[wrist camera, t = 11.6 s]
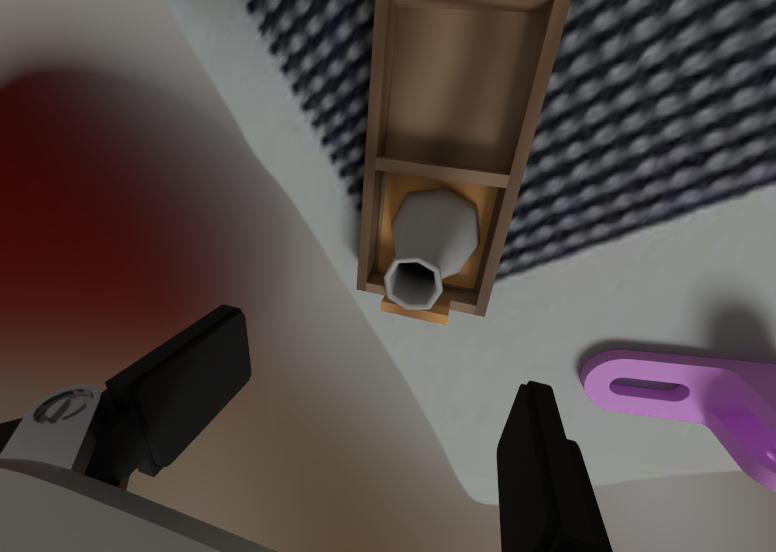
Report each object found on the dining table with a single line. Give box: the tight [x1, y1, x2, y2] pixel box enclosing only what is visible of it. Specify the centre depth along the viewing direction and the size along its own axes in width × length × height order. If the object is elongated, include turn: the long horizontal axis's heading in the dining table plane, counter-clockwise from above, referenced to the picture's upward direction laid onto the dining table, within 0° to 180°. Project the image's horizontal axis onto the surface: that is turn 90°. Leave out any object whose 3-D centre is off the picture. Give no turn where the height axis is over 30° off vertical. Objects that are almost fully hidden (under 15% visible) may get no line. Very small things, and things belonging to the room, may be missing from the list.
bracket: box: [580, 350, 776, 492], centre depth 24 cm, size 13×6×7 cm, turn 93°
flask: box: [384, 188, 480, 310], centre depth 21 cm, size 7×7×10 cm
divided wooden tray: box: [357, 0, 571, 325], centre depth 22 cm, size 11×20×6 cm, turn 174°
